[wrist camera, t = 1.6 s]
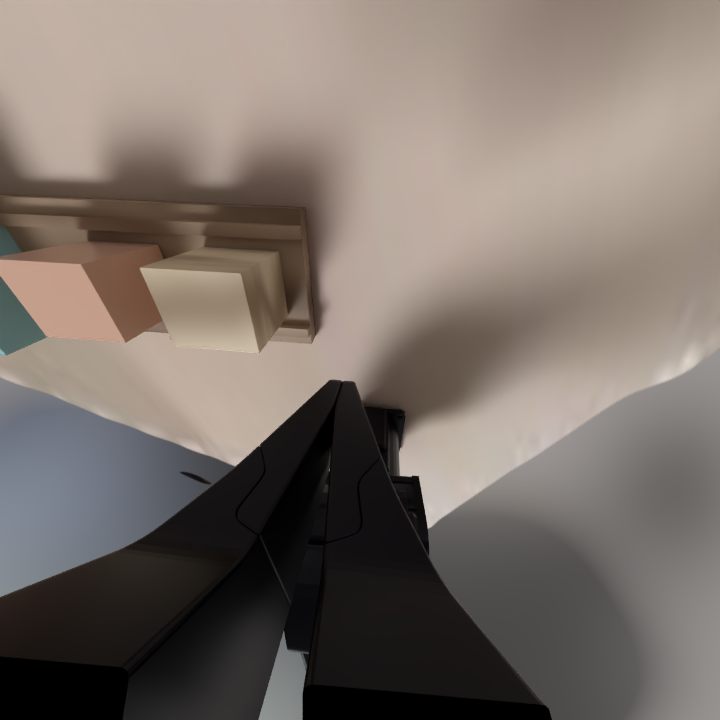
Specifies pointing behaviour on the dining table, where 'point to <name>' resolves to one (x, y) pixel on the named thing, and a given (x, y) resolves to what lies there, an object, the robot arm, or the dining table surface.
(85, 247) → the block
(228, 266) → the beige slanted block
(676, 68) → the dining table surface
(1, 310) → the teal end stop
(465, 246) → the dining table surface
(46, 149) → the dining table surface
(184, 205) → the channel
